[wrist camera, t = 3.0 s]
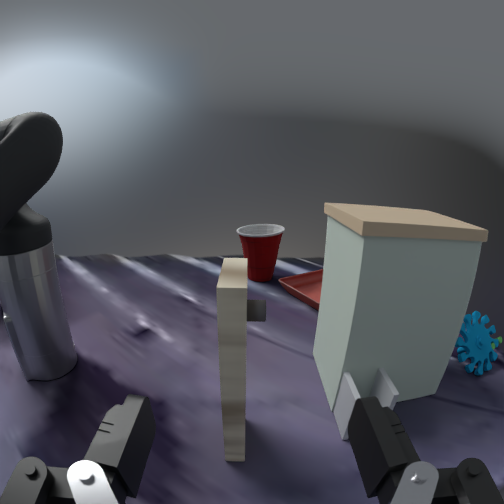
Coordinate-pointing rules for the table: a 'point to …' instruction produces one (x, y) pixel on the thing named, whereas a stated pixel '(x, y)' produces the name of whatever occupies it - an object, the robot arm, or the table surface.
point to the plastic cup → (260, 249)
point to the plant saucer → (305, 287)
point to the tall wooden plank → (234, 350)
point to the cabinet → (390, 302)
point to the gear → (477, 343)
